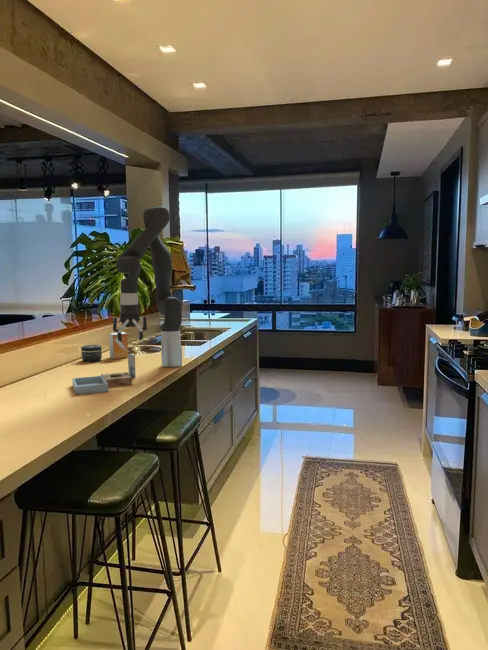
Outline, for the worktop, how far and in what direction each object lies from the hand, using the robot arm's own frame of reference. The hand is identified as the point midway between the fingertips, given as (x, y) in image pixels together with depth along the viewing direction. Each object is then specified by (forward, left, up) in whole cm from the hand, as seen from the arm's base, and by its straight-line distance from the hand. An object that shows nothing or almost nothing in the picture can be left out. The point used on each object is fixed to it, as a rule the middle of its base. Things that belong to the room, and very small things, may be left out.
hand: (130, 340), depth 217 cm
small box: (-2, -49, -16) cm, 52 cm away
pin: (0, 0, -16) cm, 16 cm away
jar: (+12, -47, -16) cm, 51 cm away
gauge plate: (+8, +8, -16) cm, 20 cm away
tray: (+19, +13, -16) cm, 28 cm away
